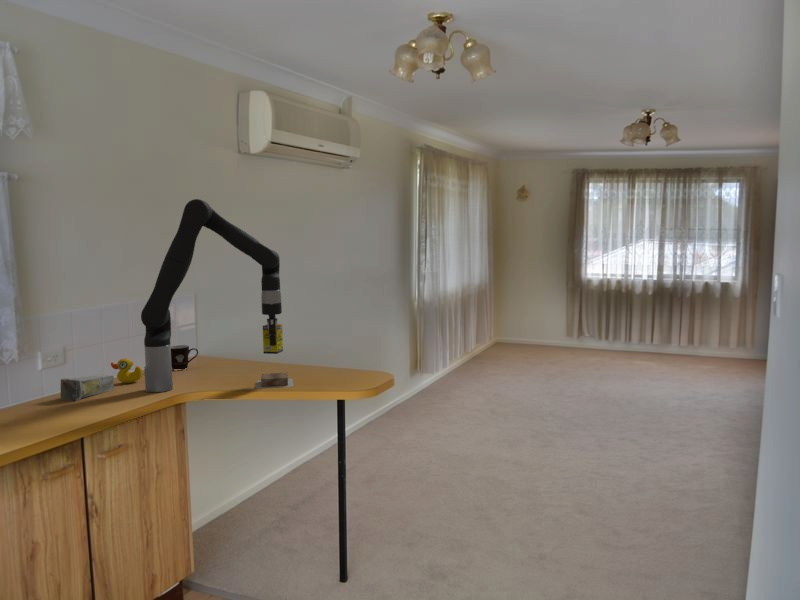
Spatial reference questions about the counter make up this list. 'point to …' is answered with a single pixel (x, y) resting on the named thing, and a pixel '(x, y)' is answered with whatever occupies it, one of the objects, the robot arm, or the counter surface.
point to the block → (85, 386)
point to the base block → (274, 379)
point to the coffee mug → (180, 356)
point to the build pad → (258, 386)
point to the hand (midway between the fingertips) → (273, 343)
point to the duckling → (124, 373)
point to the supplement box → (266, 340)
